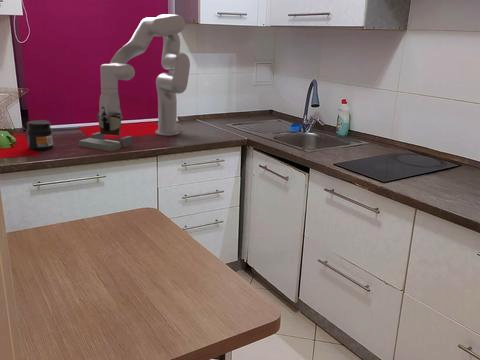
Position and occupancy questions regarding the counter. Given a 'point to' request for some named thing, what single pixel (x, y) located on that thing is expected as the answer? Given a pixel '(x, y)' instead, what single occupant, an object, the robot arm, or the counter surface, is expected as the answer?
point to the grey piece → (105, 142)
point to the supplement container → (39, 135)
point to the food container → (111, 125)
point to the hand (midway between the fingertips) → (111, 129)
